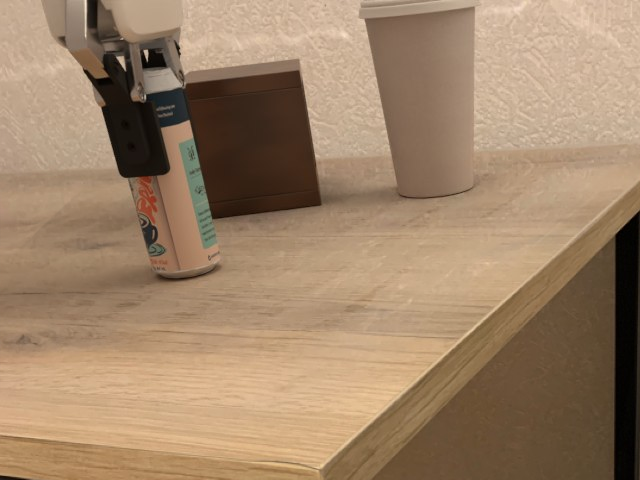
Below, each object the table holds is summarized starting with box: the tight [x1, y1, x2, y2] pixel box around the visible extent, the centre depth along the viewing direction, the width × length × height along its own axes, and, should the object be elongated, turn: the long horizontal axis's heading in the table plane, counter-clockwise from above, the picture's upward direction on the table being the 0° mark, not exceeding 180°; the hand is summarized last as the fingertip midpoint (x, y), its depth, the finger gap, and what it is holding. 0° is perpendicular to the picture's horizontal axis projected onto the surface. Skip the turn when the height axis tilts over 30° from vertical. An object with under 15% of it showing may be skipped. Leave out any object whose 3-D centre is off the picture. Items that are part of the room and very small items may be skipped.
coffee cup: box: [358, 0, 481, 199], centre depth 73 cm, size 10×10×15 cm
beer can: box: [127, 67, 222, 279], centre depth 59 cm, size 5×5×12 cm
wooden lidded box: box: [183, 58, 322, 219], centre depth 79 cm, size 10×13×10 cm
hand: (161, 163), depth 59 cm, fingers closed on beer can, 4 cm apart
